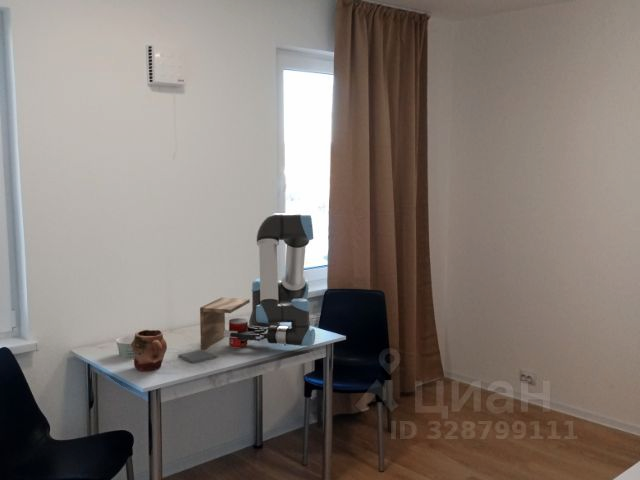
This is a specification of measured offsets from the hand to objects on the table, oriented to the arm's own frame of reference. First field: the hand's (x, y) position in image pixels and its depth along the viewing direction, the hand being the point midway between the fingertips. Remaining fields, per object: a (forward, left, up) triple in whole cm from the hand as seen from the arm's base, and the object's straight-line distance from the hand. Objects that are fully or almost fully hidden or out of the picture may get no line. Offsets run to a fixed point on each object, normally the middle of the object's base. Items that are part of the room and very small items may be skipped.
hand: (228, 331), depth 275 cm
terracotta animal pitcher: (+41, +8, -6) cm, 42 cm away
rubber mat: (+20, +7, -6) cm, 22 cm away
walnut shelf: (0, -1, -6) cm, 6 cm away
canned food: (-2, +4, -6) cm, 8 cm away
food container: (+38, -14, -6) cm, 41 cm away
